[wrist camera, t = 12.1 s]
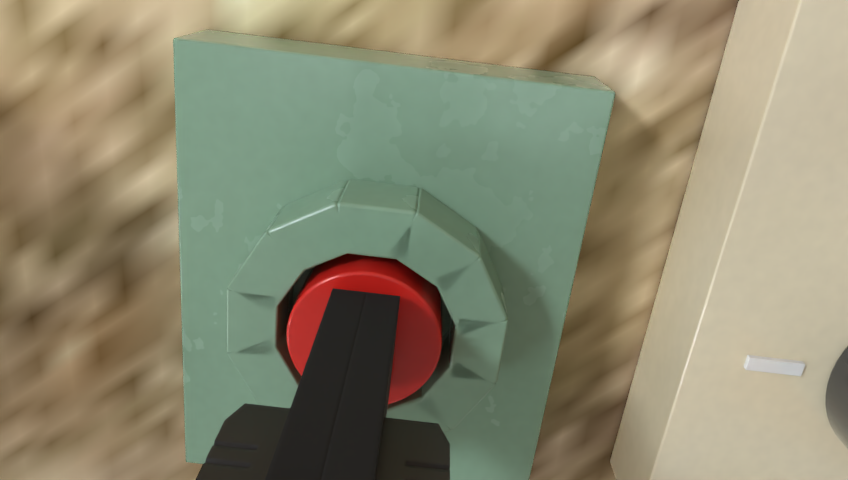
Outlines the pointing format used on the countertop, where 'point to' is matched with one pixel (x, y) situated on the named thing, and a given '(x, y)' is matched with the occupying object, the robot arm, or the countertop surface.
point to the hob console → (754, 267)
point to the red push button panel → (381, 221)
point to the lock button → (382, 276)
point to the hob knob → (838, 398)
